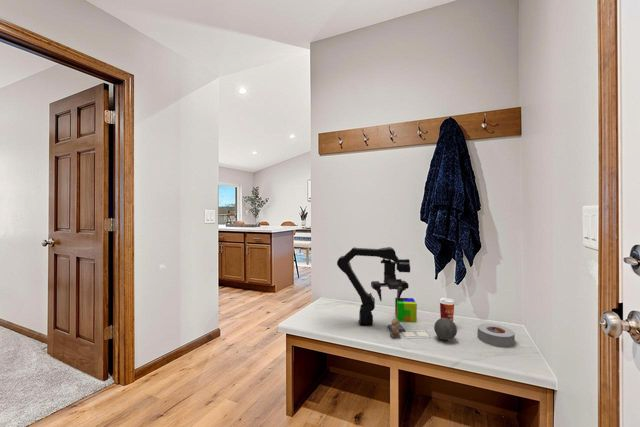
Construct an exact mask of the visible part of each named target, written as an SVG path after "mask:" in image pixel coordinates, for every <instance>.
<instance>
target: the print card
mask: <svg viewBox="0 0 640 427" xmlns="http://www.w3.org/2000/svg"><path fill="white" fill-rule="evenodd" d="M400 334H402V335H403V336H404V338H405V339H426V338H427V339H429V338H430V339H431V338H433V336H432V335H431V334H430V333H429V332H428V331H427V330H422V329H421V330H405V332H401V333H400Z"/></svg>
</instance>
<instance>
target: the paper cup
mask: <svg viewBox="0 0 640 427" xmlns="http://www.w3.org/2000/svg"><path fill="white" fill-rule="evenodd" d="M455 304H456V302H455V300H454V299H452V298H450V297H441V298H440V299H439V309H440V310H439V311H440V315H439V316H440V319H441V318H448V319H450V320H452V321H453V322H454V314H455Z"/></svg>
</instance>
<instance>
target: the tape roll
mask: <svg viewBox="0 0 640 427" xmlns="http://www.w3.org/2000/svg"><path fill="white" fill-rule="evenodd" d="M515 335H516V333H515V331H514V330H512V329H511V328H510V327H506V326H502V325H500V324H495V323H480V324H478V325H477V339H478V340H479V341H481V342H483V343H484V344H486V345H489V346H494V347H499V348H511V347H513V346H515Z"/></svg>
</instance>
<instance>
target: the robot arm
mask: <svg viewBox="0 0 640 427" xmlns="http://www.w3.org/2000/svg"><path fill="white" fill-rule="evenodd" d="M359 256H361V257H378V258H381V260H380V264H383V282H380V281H379V280H378V281H377V280H375V281H374V280H372V281H371V282H370V288H372V289H373V290H375V291H376V293H377V296H378V298H379V302H382V289H381V288H386V287H387V288H388V290H390V291H391V290H397V291H396V298H397V301H399V299H400V298H401V296H402V293H403V292H404V291H406V289H409V287H410V286H409V283H408V282H407V281H406V280H403V279H401V278H400V279H399V278H397V275H396V271H398V273H411V262H410V259H409V258H405V259H403V258H402V259H401V258H399V257H398V256H397V255H396V251H395V249H394V248H393V247H391V246H388V247H381V248H366V247H365V248H364V247H352V248H351V250H349V251H348V252H346V253H345V254H344V255H341V256H340V257H338V259H337V262H336V265H337V267H338V268H339V269H340V270H341V271H342V272H343V273H344V274H345V275H346V277H347V278H348V280H349V282H350V283H351V285H352V286H353V288H354V289H355V291H356V293H357V295H358V296H359V297H360V300H361V303H362V304H361V305H360V308H359V313H358V316H359V318H358V319H359V320H358V323H359V325H360V326H362V327H363V326H365V327H366V326H367V327H368V326H373V325H374V324H373V323H374V315H373V313H372V312H373V311H374V310H375V307H376V300H375V297H373V294H372V292H370V293H368V291H366V289H365V288H364V286H363V284H362V283H361V281H360V280H359V278H358V277H357V275H356V273H355V272H354V270H353V267H352V265H351V261H352V260H353V259H354V258H355V257H359Z"/></svg>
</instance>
